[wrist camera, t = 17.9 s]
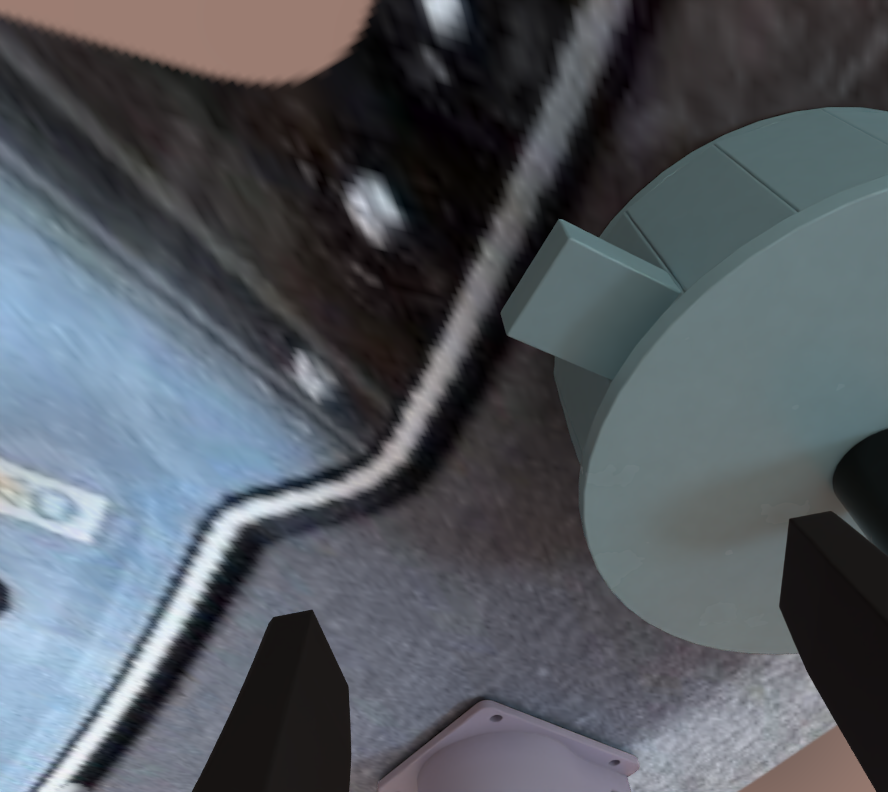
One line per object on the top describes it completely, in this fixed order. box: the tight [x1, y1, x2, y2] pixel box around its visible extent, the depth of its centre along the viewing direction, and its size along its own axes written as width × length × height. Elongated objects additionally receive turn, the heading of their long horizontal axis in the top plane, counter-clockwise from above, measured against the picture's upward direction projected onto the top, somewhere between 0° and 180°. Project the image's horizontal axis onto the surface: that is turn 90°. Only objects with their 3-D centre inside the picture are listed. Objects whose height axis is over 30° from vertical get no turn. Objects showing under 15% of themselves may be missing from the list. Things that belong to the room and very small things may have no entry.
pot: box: [501, 107, 888, 465], centre depth 19 cm, size 13×18×5 cm
